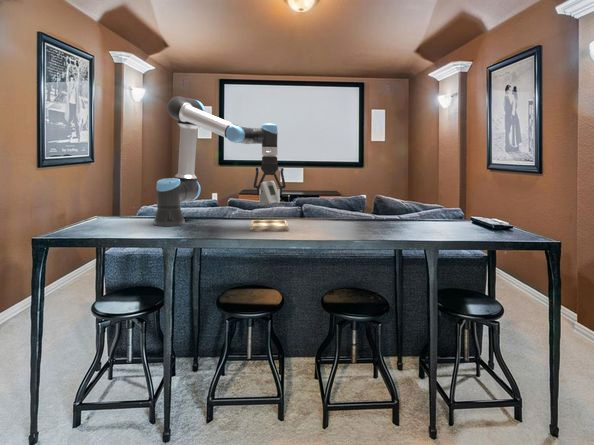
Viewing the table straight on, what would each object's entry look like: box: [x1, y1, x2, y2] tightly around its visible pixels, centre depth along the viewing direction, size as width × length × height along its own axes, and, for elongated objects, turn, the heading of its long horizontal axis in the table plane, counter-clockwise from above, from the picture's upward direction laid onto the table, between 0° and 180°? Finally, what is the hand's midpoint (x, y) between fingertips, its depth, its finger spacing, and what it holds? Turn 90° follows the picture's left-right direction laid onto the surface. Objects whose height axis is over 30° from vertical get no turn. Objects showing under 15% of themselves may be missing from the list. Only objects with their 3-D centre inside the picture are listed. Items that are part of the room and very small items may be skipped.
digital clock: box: [259, 180, 278, 205], centre depth 214 cm, size 16×9×11 cm, turn 153°
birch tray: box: [249, 219, 289, 232], centre depth 217 cm, size 18×20×2 cm
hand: (269, 202), depth 215 cm, fingers closed on digital clock, 8 cm apart
